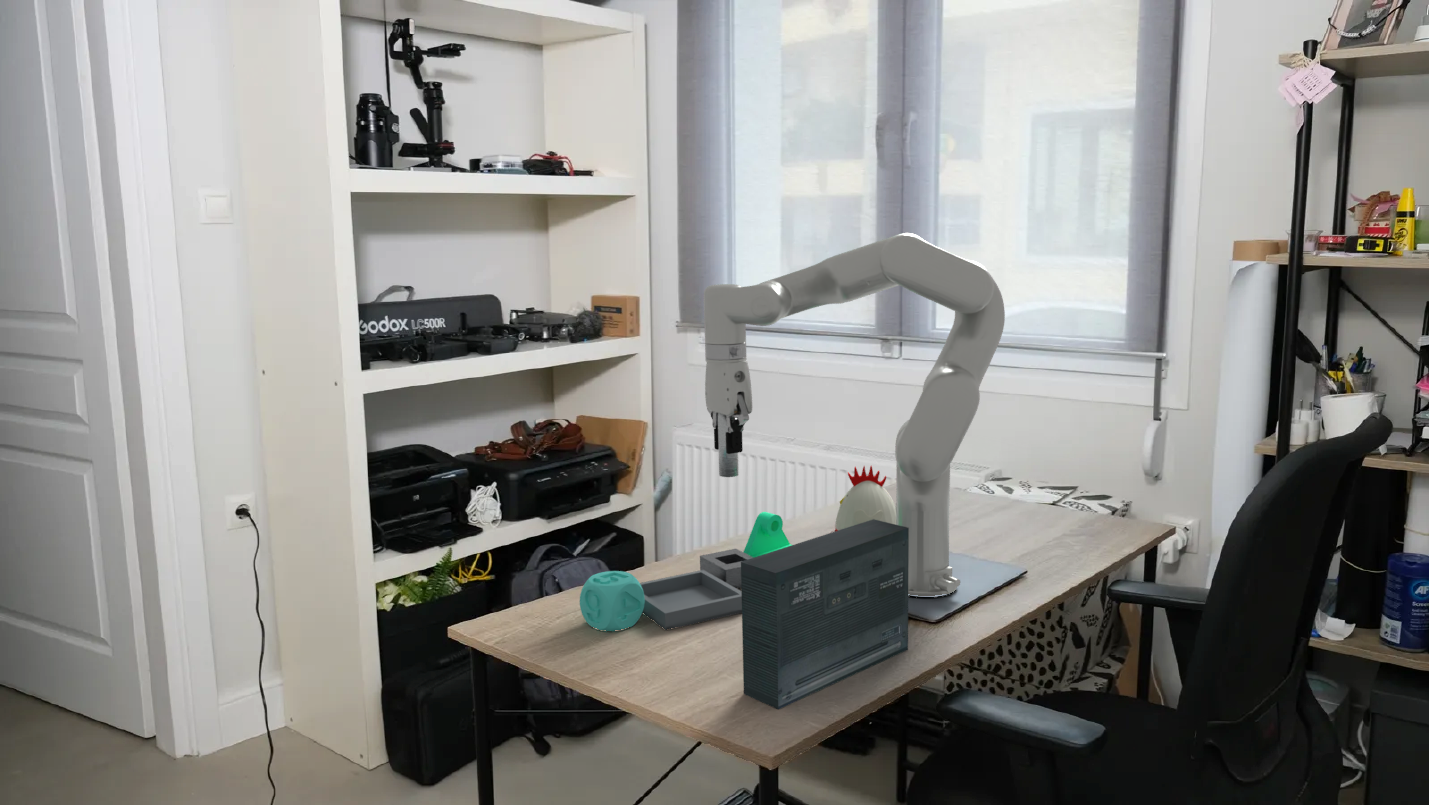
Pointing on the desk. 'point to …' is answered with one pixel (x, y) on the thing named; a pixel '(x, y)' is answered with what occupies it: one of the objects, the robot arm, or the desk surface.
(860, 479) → the kitchen timer
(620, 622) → the decorative dice
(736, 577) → the block
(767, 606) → the cassette player
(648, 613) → the tray
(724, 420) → the pin
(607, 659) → the desk surface
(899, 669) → the desk surface
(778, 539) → the green mounting bracket
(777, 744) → the desk surface
